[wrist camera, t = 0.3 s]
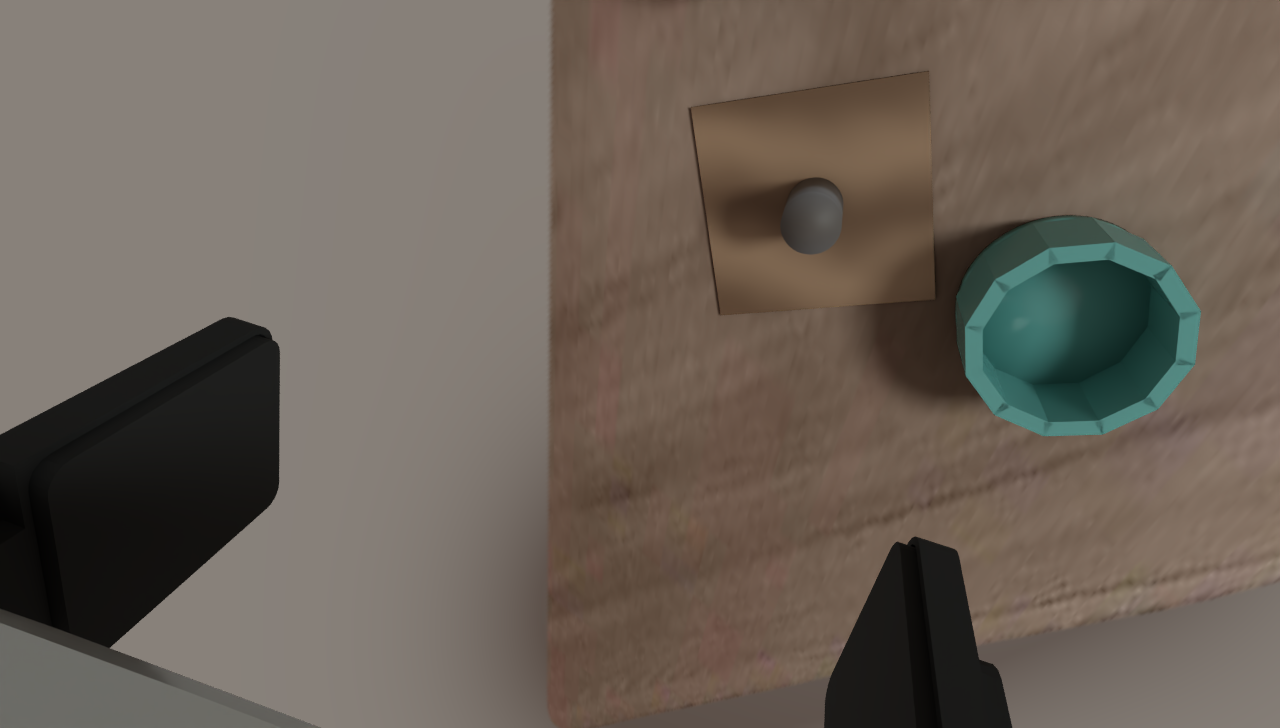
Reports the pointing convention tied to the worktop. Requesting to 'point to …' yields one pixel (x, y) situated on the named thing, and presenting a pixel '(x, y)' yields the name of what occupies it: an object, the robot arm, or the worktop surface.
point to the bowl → (1074, 326)
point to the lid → (820, 196)
